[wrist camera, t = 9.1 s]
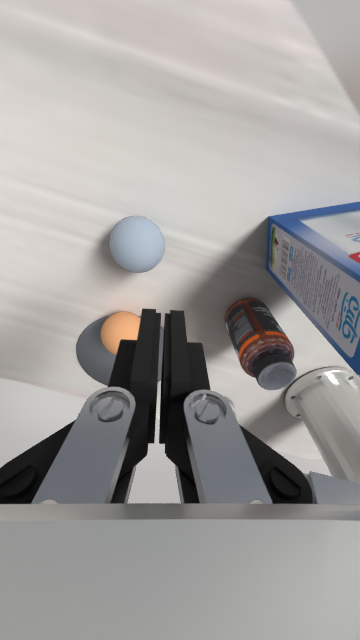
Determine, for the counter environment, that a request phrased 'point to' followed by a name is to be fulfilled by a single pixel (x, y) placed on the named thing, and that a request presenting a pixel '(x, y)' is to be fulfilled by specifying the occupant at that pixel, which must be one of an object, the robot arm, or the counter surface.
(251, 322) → the supplement bottle
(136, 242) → the light blue ball
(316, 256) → the milk carton
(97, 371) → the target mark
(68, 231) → the counter surface
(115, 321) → the orange ball
